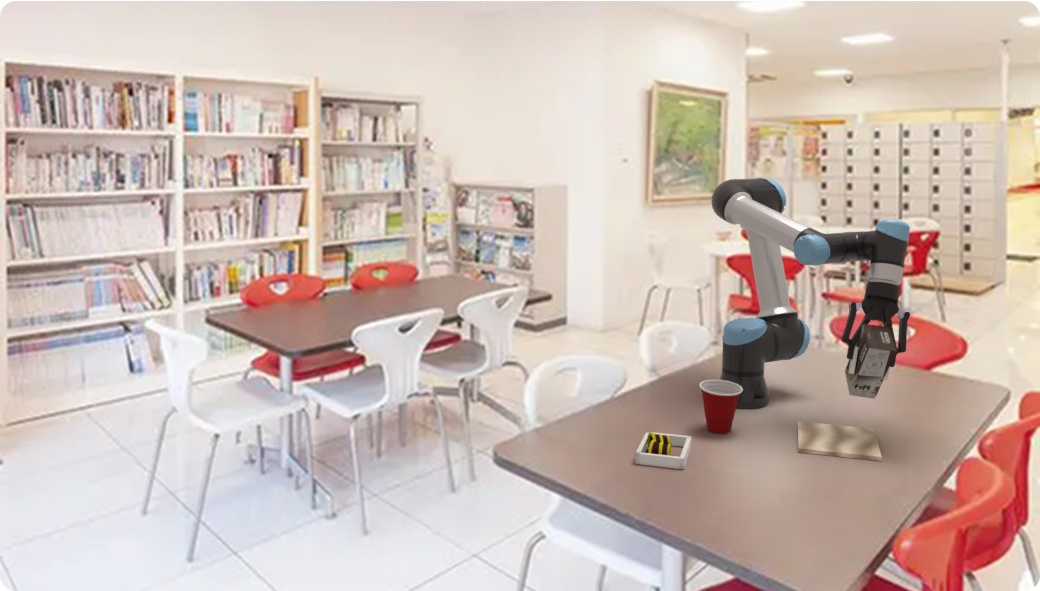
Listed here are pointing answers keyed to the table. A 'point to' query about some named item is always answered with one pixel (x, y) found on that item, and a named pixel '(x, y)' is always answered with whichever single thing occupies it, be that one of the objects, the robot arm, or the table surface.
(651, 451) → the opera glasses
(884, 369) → the coffee box
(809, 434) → the birch board
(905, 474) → the table surface
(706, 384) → the plastic cup
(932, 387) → the table surface
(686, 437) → the white tray rim
